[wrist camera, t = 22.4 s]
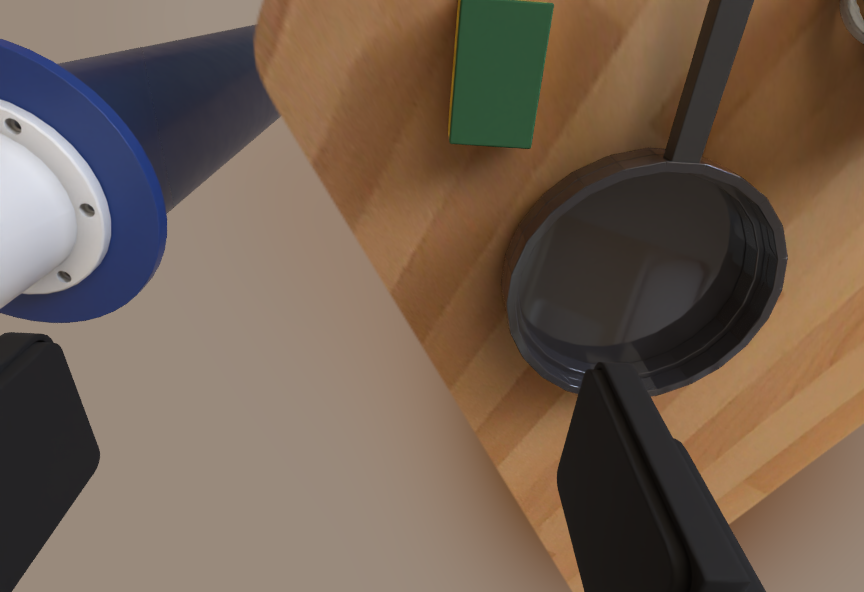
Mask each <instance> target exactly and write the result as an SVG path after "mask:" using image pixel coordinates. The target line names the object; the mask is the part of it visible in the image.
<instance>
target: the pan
mask: <svg viewBox="0 0 864 592" xmlns="http://www.w3.org/2000/svg"><path fill="white" fill-rule="evenodd" d="M664 153H665V149H659V148H645V149H639V150H634V151H629V152H624V153H619V154H613V155H610V156H607V157H605V158H602V159H600V160H598V161H596V162H594V163H591V164H589V165H587V166H585V167H583V168H580V169H578V170H576V171H574V172H572V173H570V174H569V175H568V176H566V177H565V178H564V179H563V180H561V181H560V182H559V183H557V184H556V185H555V186H553V187H552V188H551V189H550V190H548V191H547V192H546V193H544V194H543V196H541V197H540V199H539V200H538V201H537V202H536V204H535V205H534V206H533V207H532V209H531V210H530V211H529V212H528V214H527V215H526V216H525V217H524V218H523V220H522V221H521V222H520V224H519V225H518V228H517V230H516V232H515V234H514V236H513V238H512V241H511V243H510V245H509V247H508V249H507V252H506V254H505V260H504V266H503V273H502V279H501V287H502V294H503V301H504V307H505V312H506V317H507V321H508V325H509V329H510V333H511V335H512V337H513V339H514V341H515V343H516V345H517V347H518V349H519V351H520V353H521V355H522V357H523V358H524V359H525V360H526V361H527V363H528V364H529V365H530V366H531V367H532V368H533V369H534V370H535V371H536V372H537V373H538V374H539V375H540V376H541V377H543V378H544V379H546V380H548V381H550V382H551V383H553V384H555V385H557V386H559V387H560V388H562V389H564V390H566V391H568V392H572V393H576V394H579V391H580V387H581V383H582V380H583V376H584V373H585V371H586V370H588V369H594V367H595V365H596V364H597V363H598V362H615V363H630V364H632V365H633V367H634V368H635V370H636V371H637V373H638V375H639V377H640V379H641V381H642V382H643V384H644V386H645V388H646V390H647V392H648V393H649V395H650V397H651V396H657V395H661V394H664V393H667V392H670V391H672V390H675V389H678V388H681V387H684V386H687V385H689V384H692V383H694V382H696V381H697V380H699V379H701V378H703V377H705V376H706V375H708V374H710V373H712V372H714V371H715V370H717V369H719V368H720V367H722V366H723V365H724V364H725V363H726V362H728V361H729V360H730V359H731V358H732V357H734V356H735V355H736V354H737V353H739V352H740V351H741V350H742V349H743V348H745V347H746V345H748V343H749V342H750V341H751V340H752V338H753V337H754V336H755V335H756V333H757V332H758V331H759V330H760V329H761V327H762V326H763V325H764V324H765V322H766V321H767V320H768V319H769V316H770V314H771V312H772V310H773V308H774V306H775V304H776V302H777V300H778V298H779V296H780V293H781V291H782V288H783V283H784V277H785V271H786V265H787V260H788V258H787V257H788V255H787V248H786V242H785V235H784V229H783V225H782V223H781V222H780V220H779V218H778V216H777V214H776V213H775V211H774V209H773V207H772V206H771V204H770V202H769V200H768V199H767V197H765V196H764V195H763V194H762V193H760V192H759V191H758V190H757V189H756V188H754V187H753V186H752V185H751V184H750V183H748V182H747V181H746V180H745V179H743V178H742V177H741V176H739V175H737V174H736V173H734V172H732V171H731V170H729V169H727V168H726V167H724V166H722V165H721V164H719V163H717V162H715V161H712V160H710V159H707V158H704V157H701V160H700V163H690V162H675V161H671V160H669V159H668V158H666V157H665V156H664Z"/></svg>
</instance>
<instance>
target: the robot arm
mask: <svg viewBox="0 0 864 592" xmlns="http://www.w3.org/2000/svg"><path fill="white" fill-rule="evenodd" d="M110 239H111V217H110V212H109V207H108V203H107V200H106V197H105V195H104V192H103V190H102V188H101V185H100V183H99V181H98V180H97V178H96V176H95V175H94V173H93V172H92V170H91V168H90V167H89V165H88V163H87V162H86V161H85V160H84V159H83V158H82V156H81V155H80V154H79V153H78V152H77V150H76V149H75V148H74V147H73V146H72V145H71V144H70V143H69V142H68V141H67V140H66V139H65V138H64V137H62V136H61V135H60V134H59V133H58V132H57V131H56V130H55V129H54V128H52V127H51V126H49V125H48V124H46V123H45V122H43V121H42V120H40V119H39V118H38V117H36V116H35V115H33V114H32V113H30V112H28V111H26V110H24V109H22V108H20V107H18V106H16V105H14V104H12V103H10V102H7V101H4V100H1V99H0V309H1V308H2V307H4V306H5V305H6V304H8V303H9V302H10V301H12V300H13V299H14V298H16V297H17V296H18V295H20V294H21V293H23V294H49V293H53V292H58V291H63V290H65V289H68V288H70V287H72V286H74V285H76V284H78V283H79V282H81V281H82V280H83V279H85V278H86V277H87V276H89V275H90V274H91V273H92V272H93V271H94V270H95V269H96V268H97V267H98V266H99V265H100V264H101V262H102V260H103V258H104V257H105V255H106V253H107V251H108V247H109V243H110ZM99 459H100V451H99V448H98V445H97V442H96V439H95V437H94V434H93V431H92V429H91V426H90V423H89V421H88V418H87V415H86V413H85V410H84V407H83V405H82V402H81V399H80V397H79V394H78V391H77V389H76V386H75V383H74V380H73V378H72V375H71V372H70V370H69V367H68V364H67V362H66V359H65V356H64V354H63V351H62V349H61V347H60V346H59V345H58V344H56V343H53V341H52V339H51V338H50V337H49V336H47V335H44V334H34V333H14V332H13V333H12V332H11V333H4V334H3V335H1V336H0V592H12V590H13V589H14V588H15V586H16V585H17V583H18V582H19V580H20V579H21V577H22V576H23V575H24V573H25V572H26V570H27V569H28V567H29V566H30V564H31V563H32V562H33V560H34V559H35V557H36V556H37V554H38V553H39V551H40V550H41V549H42V547H43V546H44V544H45V543H46V541H47V540H48V539H49V537H50V536H51V534H52V533H53V531H54V530H55V528H56V527H57V526H58V524H59V523H60V521H61V520H62V518H63V517H64V515H65V514H66V512H67V511H68V509H69V508H70V507H71V505H72V504H73V502H74V501H75V500H76V498H77V497H78V495H79V494H80V492H81V491H82V489H83V488H84V486H85V485H86V484H87V482H88V481H89V479H90V478H91V477H92V475H93V474H94V472H95V470H96V469H97V466H98V463H99ZM557 486H558V491H559V495H560V499H561V503H562V507H563V510H564V514H565V518H566V522H567V526H568V530H569V534H570V537H571V541H572V545H573V549H574V553H575V557H576V561H577V565H578V568H579V572H580V576H581V580H582V584H583V588H584V592H766V591H765V589H764V588H763V586H762V584H761V582H760V580H759V579H758V577H757V575H756V573H755V571H754V570H753V568H752V566H751V564H750V563H749V561H748V559H747V557H746V556H745V553H744V552H743V550H742V548H741V546H740V545H739V543H738V541H737V539H736V537H735V536H734V534H733V532H732V531H731V529H730V527H729V525H728V523H727V521H726V520H725V518H724V516H723V514H722V512H721V511H720V509H719V507H718V505H717V504H716V502H715V500H714V498H713V496H712V495H711V493H710V491H709V489H708V487H707V486H706V484H705V482H704V480H703V479H702V477H701V475H700V473H699V471H698V470H697V468H696V466H695V464H694V462H693V461H692V459H691V457H690V455H689V454H688V452H687V450H686V449H685V447H684V446H683V445H682V443H681V442H679V441H678V440H676V439H673V437H672V436H671V434H670V432H669V430H668V428H667V426H666V425H665V423H664V421H663V419H662V417H661V415H660V414H659V412H658V410H657V408H656V406H655V404H654V403H653V401H652V399H651V397H650V395H649V393H648V392H647V390H646V388H645V386H644V384H643V382H642V381H641V379H640V377H639V375H638V373H637V371H636V370H635V368H634V367H633V365H632V364H630V363H615V362H598V363H597V364H596V365H595V367H594V369H588V370H586V371H585V373H584V376H583V380H582V383H581V387H580V391H579V394H578V398H577V401H576V405H575V409H574V412H573V416H572V419H571V423H570V427H569V430H568V434H567V437H566V441H565V445H564V448H563V452H562V456H561V459H560V463H559V466H558V471H557Z"/></svg>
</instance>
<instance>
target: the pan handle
mask: <svg viewBox="0 0 864 592" xmlns="http://www.w3.org/2000/svg"><path fill="white" fill-rule="evenodd" d="M753 2H754V0H710V1H709V4H708V7H707V11H706V14H705V18H704V21H703V24H702V28H701V31H700V35H699V38H698V41H697V45H696V48H695V51H694V55H693V58H692V62H691V65H690V68H689V72H688V75H687V78H686V82H685V85H684V89H683V92H682V95H681V99H680V102H679V105H678V109H677V112H676V116H675V119H674V122H673V126H672V129H671V133H670V136H669V139H668V143H667V146H666V149H665V153H664V156H665V157H666V158H668V159H669V160H671V161H675V162H690V163H700V160H701V157H702V154H703V151H704V148H705V145H706V142H707V139H708V136H709V133H710V130H711V127H712V124H713V121H714V118H715V115H716V113H717V110H718V107H719V104H720V101H721V98H722V95H723V92H724V89H725V86H726V83H727V80H728V77H729V74H730V71H731V68H732V65H733V62H734V59H735V56H736V53H737V50H738V47H739V44H740V41H741V38H742V35H743V32H744V29H745V26H746V23H747V20H748V17H749V14H750V11H751V8H752V5H753Z"/></svg>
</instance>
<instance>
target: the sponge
mask: <svg viewBox="0 0 864 592" xmlns="http://www.w3.org/2000/svg"><path fill="white" fill-rule="evenodd" d="M553 8H554V4H553V3H546V2H534V1H521V0H458V8H457V20H456V33H455V46H454V58H453V71H452V84H451V96H450V109H449V122H448V135H449V142H450V144H461V145H476V146H492V147H507V148H523V149H530V148H531V144H532V138H533V132H534V126H535V119H536V113H537V107H538V101H539V95H540V89H541V82H542V76H543V70H544V64H545V58H546V52H547V45H548V39H549V33H550V27H551V21H552V14H553Z"/></svg>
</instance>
